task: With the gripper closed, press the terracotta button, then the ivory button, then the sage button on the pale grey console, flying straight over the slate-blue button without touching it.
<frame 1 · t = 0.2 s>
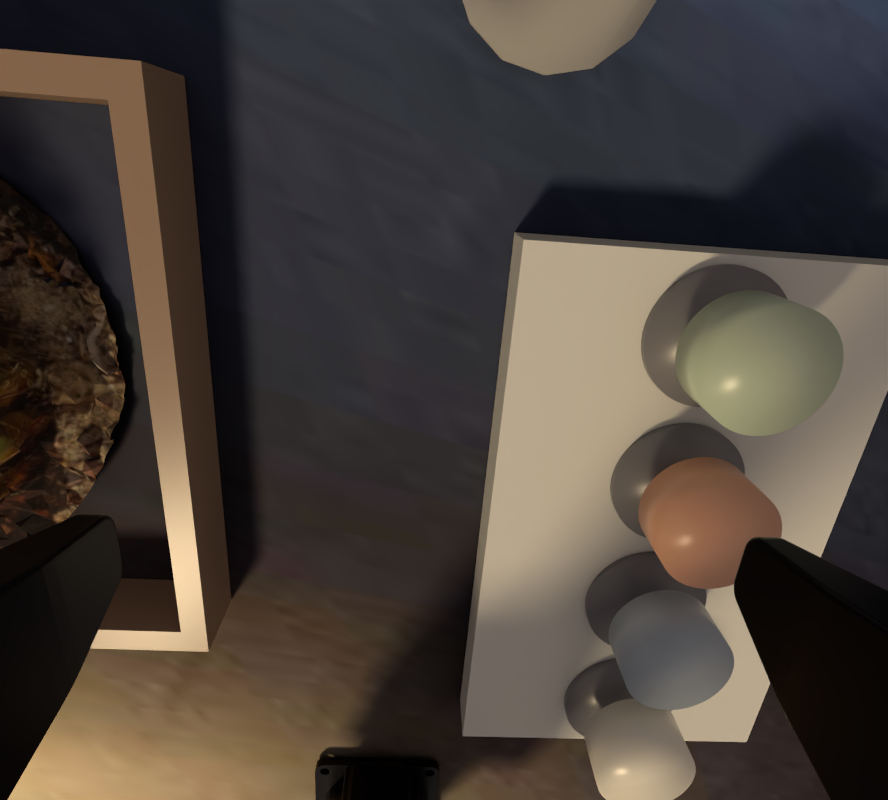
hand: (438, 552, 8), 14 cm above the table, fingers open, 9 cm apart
console: (641, 515, 25), on the table
slate button: (668, 649, 22), point 5 cm above the table, slide at 0.0 cm
ivory button: (637, 753, 24), point 5 cm above the table, slide at 0.0 cm
sage button: (754, 362, 17), point 5 cm above the table, slide at 0.0 cm
terracotta button: (706, 522, 20), point 5 cm above the table, slide at 0.0 cm
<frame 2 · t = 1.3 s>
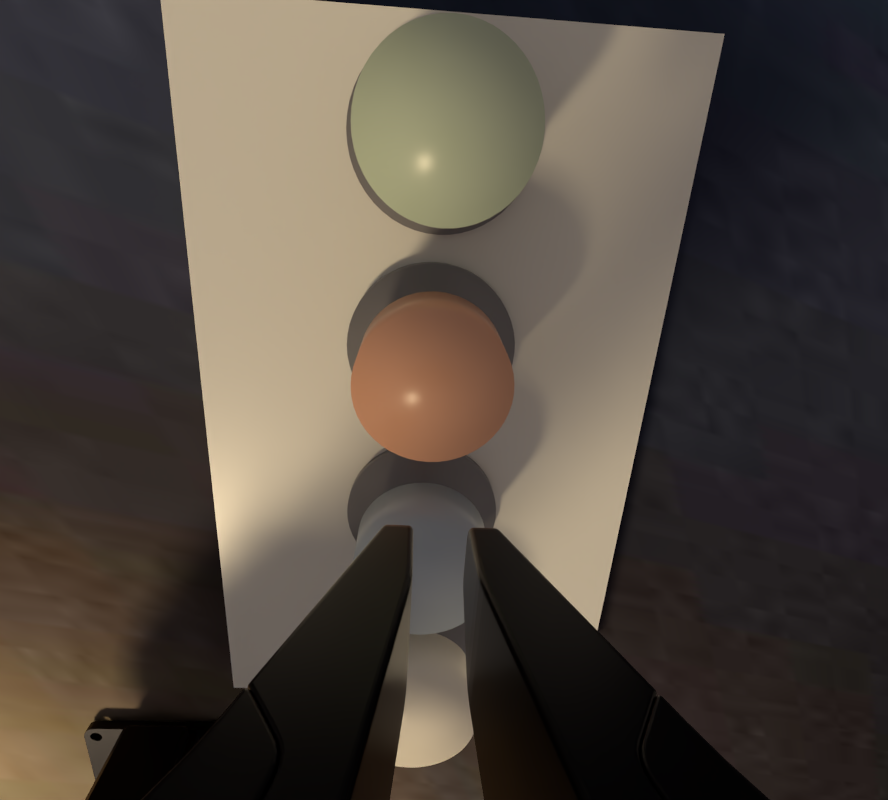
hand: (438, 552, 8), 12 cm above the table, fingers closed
console: (425, 407, 20), on the table
slate button: (421, 557, 17), point 5 cm above the table, slide at 0.0 cm
ivory button: (413, 698, 19), point 5 cm above the table, slide at 0.0 cm
sage button: (446, 130, 13), point 5 cm above the table, slide at 0.0 cm
terracotta button: (432, 375, 15), point 5 cm above the table, slide at 0.0 cm
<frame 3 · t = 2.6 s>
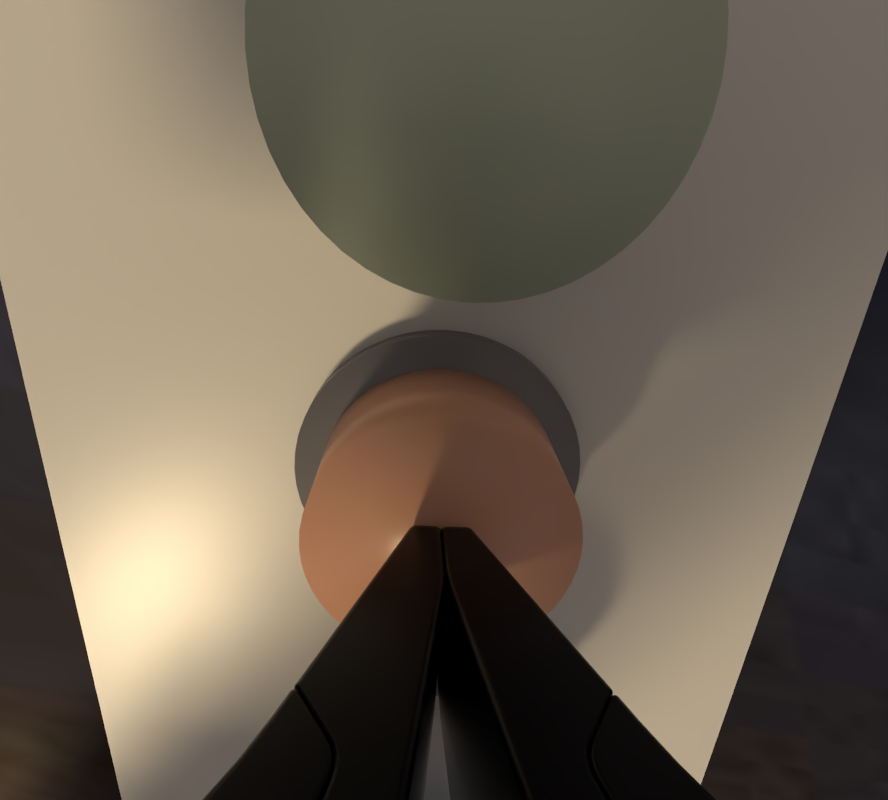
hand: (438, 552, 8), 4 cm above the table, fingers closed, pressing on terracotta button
console: (428, 530, 13), on the table
sage button: (477, 81, 6), point 5 cm above the table, slide at 0.0 cm
terracotta button: (440, 510, 9), point 4 cm above the table, slide at -1.2 cm, touching gripper
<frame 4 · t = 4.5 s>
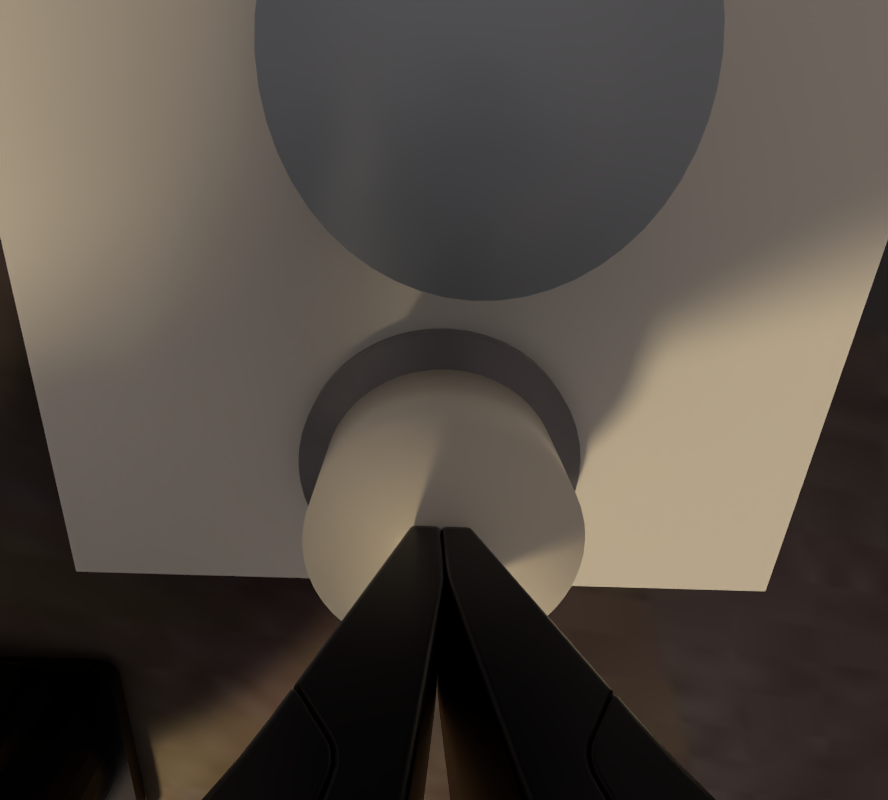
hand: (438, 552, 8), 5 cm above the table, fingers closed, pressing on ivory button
slate button: (480, 85, 6), point 5 cm above the table, slide at 0.0 cm
ivory button: (442, 509, 9), point 4 cm above the table, slide at -1.1 cm, touching gripper
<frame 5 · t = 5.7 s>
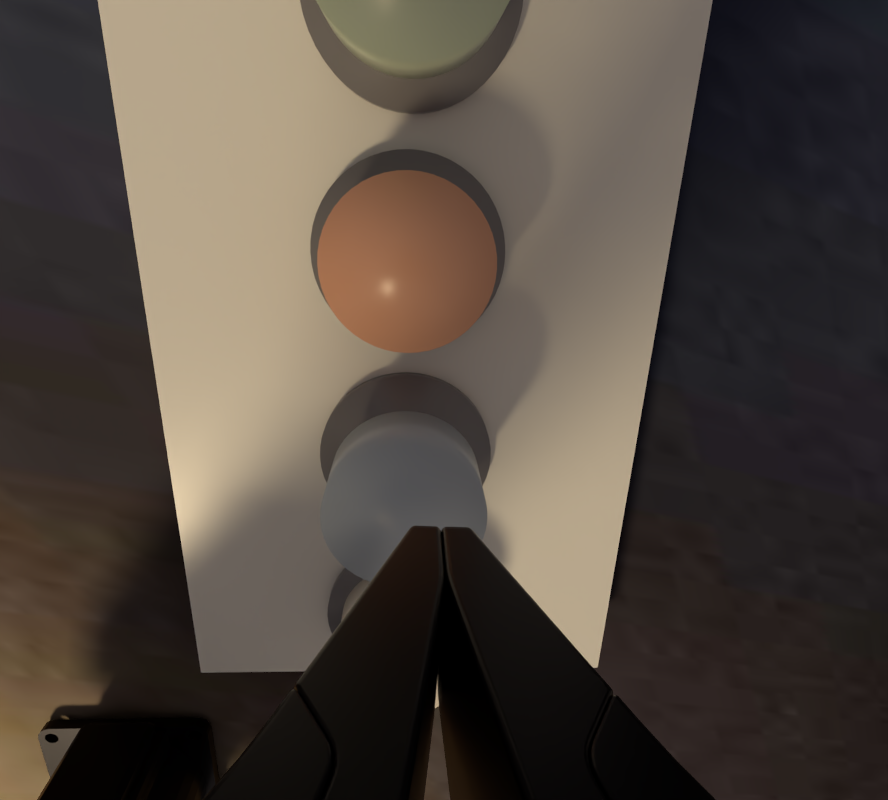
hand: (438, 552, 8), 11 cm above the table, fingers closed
console: (408, 340, 18), on the table
slate button: (404, 498, 15), point 5 cm above the table, slide at 0.0 cm
ivory button: (403, 639, 18), point 3 cm above the table, slide at -1.2 cm
terracotta button: (408, 260, 14), point 3 cm above the table, slide at -1.2 cm
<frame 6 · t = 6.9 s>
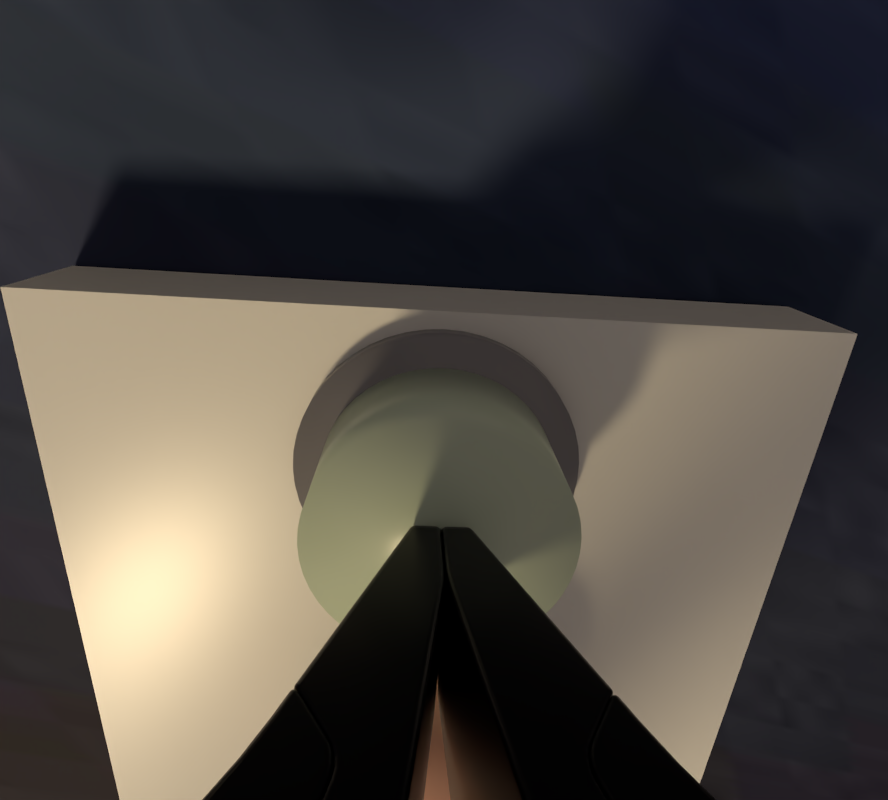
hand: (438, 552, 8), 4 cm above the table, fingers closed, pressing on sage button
console: (416, 708, 16), on the table
sage button: (438, 509, 9), point 4 cm above the table, slide at -1.2 cm, touching gripper
terracotta button: (420, 759, 11), point 3 cm above the table, slide at -1.2 cm
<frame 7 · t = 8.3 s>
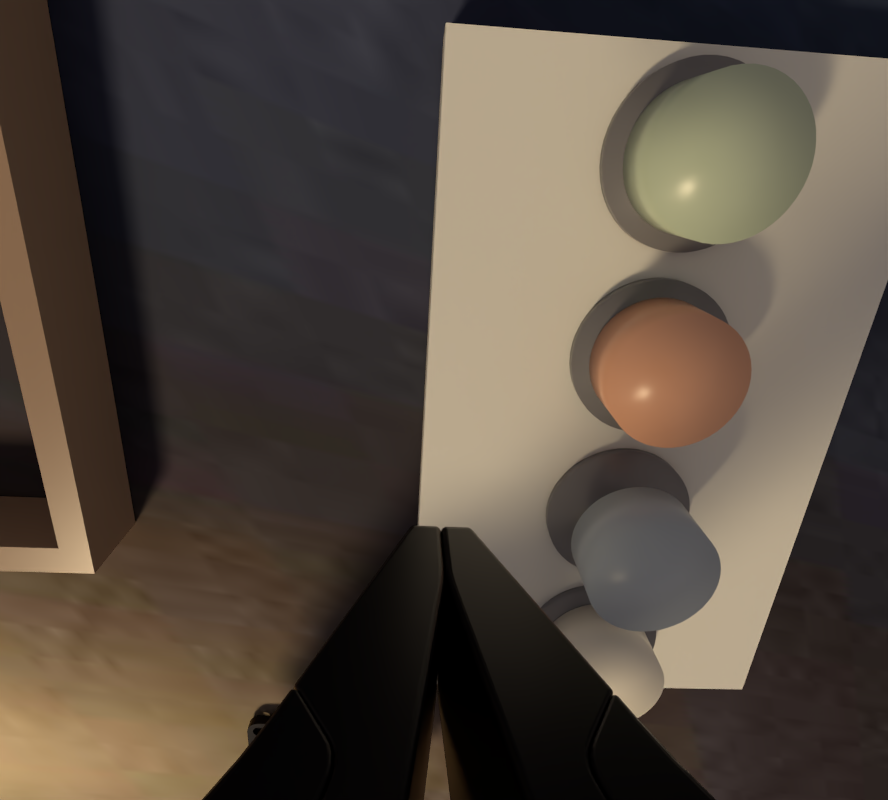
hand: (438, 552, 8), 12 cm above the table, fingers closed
console: (612, 413, 21), on the table
slate button: (641, 558, 18), point 5 cm above the table, slide at 0.0 cm
ivory button: (600, 665, 21), point 3 cm above the table, slide at -1.2 cm
sage button: (712, 159, 15), point 3 cm above the table, slide at -1.2 cm
terracotta button: (665, 371, 17), point 3 cm above the table, slide at -1.2 cm
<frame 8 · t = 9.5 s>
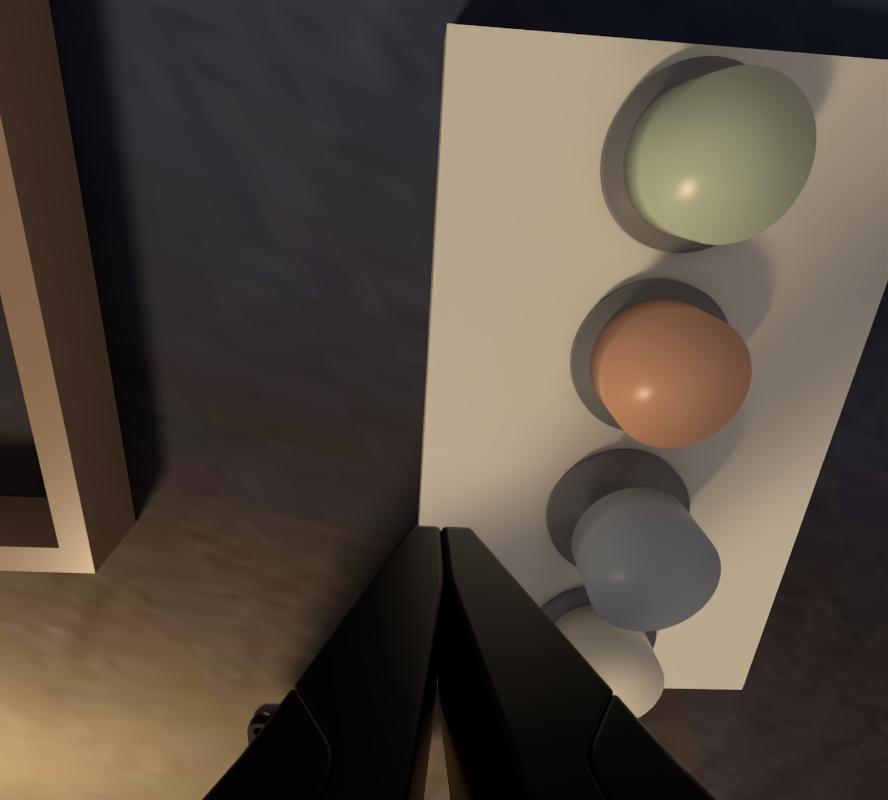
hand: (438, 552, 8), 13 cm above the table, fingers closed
console: (612, 414, 21), on the table
slate button: (642, 558, 18), point 5 cm above the table, slide at 0.0 cm
ivory button: (600, 665, 21), point 3 cm above the table, slide at -1.2 cm
sage button: (713, 160, 15), point 3 cm above the table, slide at -1.2 cm
terracotta button: (666, 372, 17), point 3 cm above the table, slide at -1.2 cm
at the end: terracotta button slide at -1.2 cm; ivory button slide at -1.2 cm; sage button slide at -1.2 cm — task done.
